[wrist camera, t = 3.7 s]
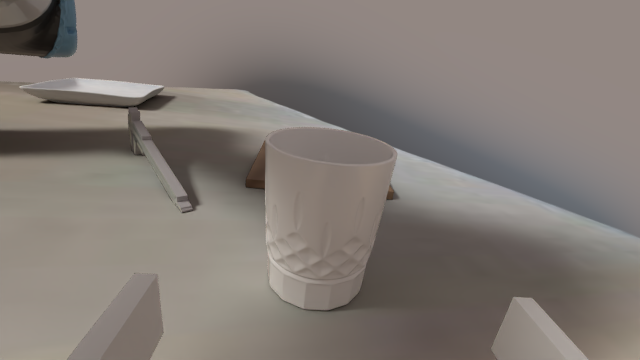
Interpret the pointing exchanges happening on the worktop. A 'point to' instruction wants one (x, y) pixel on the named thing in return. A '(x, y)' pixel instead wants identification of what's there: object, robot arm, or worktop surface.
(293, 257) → the white cup
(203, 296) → the worktop surface
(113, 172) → the worktop surface
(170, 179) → the caliper
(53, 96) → the salad plate
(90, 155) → the worktop surface
